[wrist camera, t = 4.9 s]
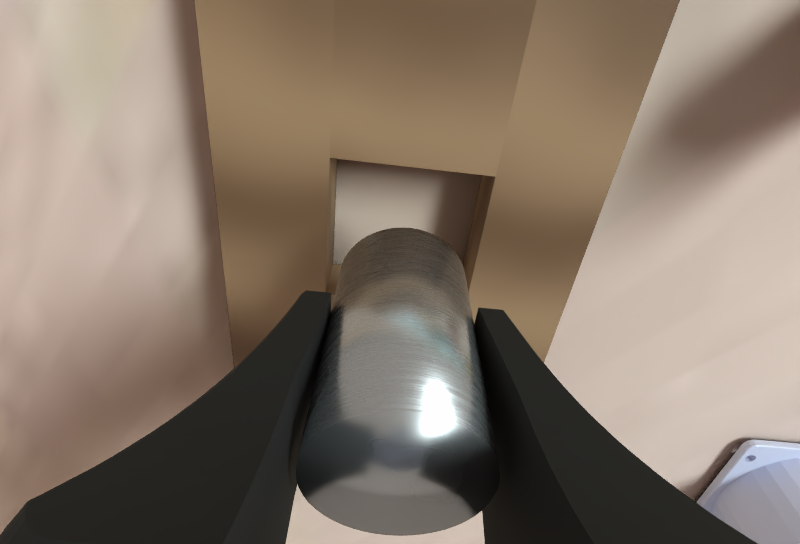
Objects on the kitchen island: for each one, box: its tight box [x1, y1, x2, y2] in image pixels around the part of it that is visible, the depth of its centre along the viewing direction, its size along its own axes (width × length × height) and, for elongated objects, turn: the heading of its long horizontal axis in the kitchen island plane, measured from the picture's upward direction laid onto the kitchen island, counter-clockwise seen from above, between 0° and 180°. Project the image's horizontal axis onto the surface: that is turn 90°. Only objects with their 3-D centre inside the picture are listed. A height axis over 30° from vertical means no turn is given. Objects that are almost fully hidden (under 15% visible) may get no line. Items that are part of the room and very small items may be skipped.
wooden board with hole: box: [194, 0, 680, 368], centre depth 16 cm, size 20×12×2 cm, turn 174°
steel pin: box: [295, 228, 500, 535], centre depth 11 cm, size 4×4×6 cm
